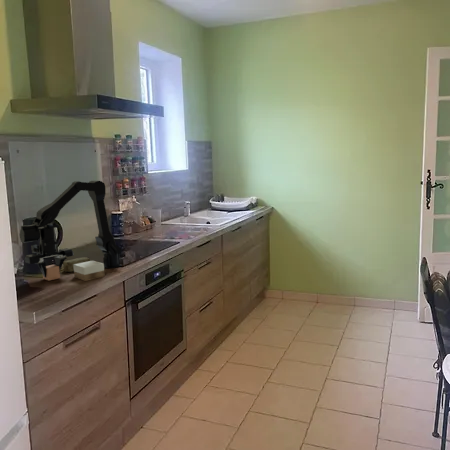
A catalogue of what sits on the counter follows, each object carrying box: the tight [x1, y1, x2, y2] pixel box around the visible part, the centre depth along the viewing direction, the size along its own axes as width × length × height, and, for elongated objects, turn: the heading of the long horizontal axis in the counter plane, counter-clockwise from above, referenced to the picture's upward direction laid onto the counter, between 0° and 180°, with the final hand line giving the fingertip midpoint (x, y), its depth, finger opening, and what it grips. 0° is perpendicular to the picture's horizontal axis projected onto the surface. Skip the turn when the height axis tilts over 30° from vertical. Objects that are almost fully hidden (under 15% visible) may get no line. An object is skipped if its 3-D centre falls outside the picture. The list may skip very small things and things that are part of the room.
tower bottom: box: [73, 270, 105, 282], centre depth 195 cm, size 9×9×3 cm
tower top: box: [73, 260, 105, 275], centre depth 195 cm, size 9×9×3 cm
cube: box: [42, 264, 61, 281], centre depth 194 cm, size 5×5×5 cm
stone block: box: [62, 256, 91, 273], centre depth 209 cm, size 6×12×5 cm, turn 138°
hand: (51, 275), depth 194 cm, fingers closed on cube, 5 cm apart
